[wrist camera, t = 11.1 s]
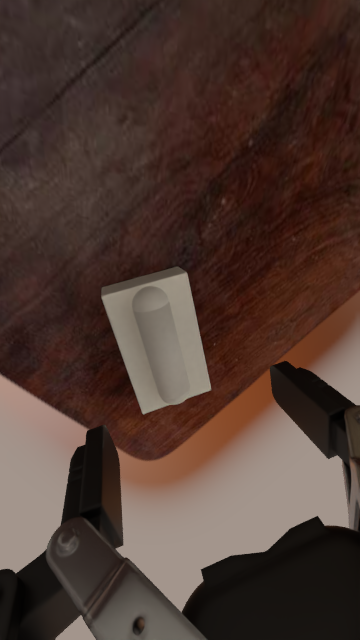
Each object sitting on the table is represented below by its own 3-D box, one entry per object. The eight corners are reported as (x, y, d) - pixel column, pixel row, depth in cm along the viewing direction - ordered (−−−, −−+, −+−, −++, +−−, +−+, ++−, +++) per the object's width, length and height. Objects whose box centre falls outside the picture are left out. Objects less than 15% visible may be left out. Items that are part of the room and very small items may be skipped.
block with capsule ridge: (201, 374, 23) (217, 399, 20) (139, 395, 22) (144, 426, 19) (178, 265, 19) (192, 275, 16) (101, 287, 18) (100, 301, 15)
